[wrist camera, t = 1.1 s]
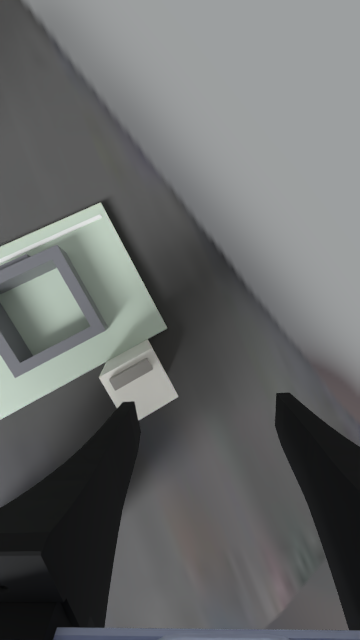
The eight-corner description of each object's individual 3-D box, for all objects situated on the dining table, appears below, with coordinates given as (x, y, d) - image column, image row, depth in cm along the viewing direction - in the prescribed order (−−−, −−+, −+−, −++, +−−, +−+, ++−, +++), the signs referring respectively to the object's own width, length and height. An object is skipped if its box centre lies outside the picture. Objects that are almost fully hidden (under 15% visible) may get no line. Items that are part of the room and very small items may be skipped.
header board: (-1, 418, 21) (-28, 440, 17) (-86, 290, 19) (-134, 286, 16) (166, 327, 23) (171, 330, 20) (102, 207, 22) (96, 188, 18)
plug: (129, 396, 23) (127, 431, 16) (107, 359, 22) (97, 379, 16) (167, 374, 23) (180, 399, 17) (147, 337, 23) (152, 349, 16)
